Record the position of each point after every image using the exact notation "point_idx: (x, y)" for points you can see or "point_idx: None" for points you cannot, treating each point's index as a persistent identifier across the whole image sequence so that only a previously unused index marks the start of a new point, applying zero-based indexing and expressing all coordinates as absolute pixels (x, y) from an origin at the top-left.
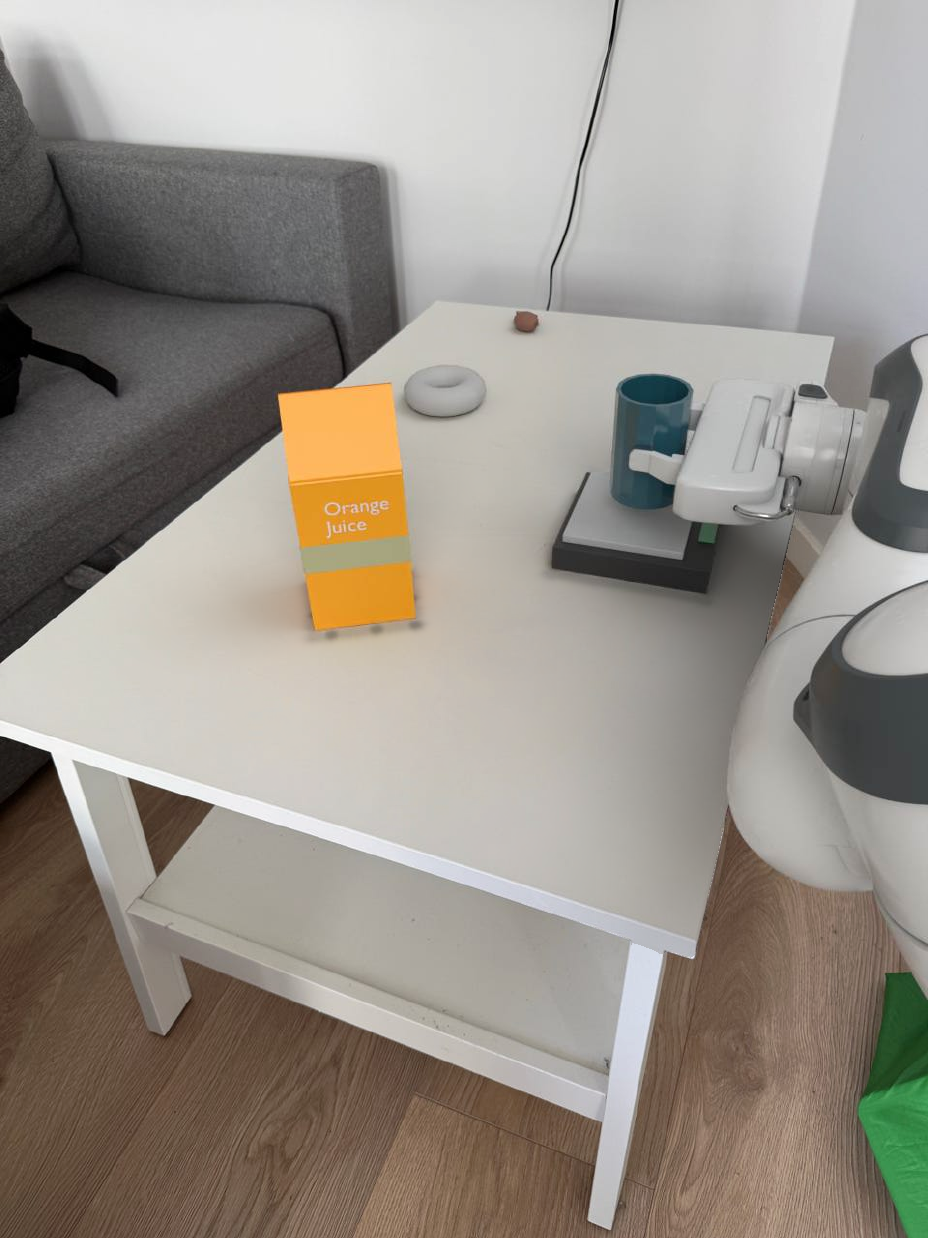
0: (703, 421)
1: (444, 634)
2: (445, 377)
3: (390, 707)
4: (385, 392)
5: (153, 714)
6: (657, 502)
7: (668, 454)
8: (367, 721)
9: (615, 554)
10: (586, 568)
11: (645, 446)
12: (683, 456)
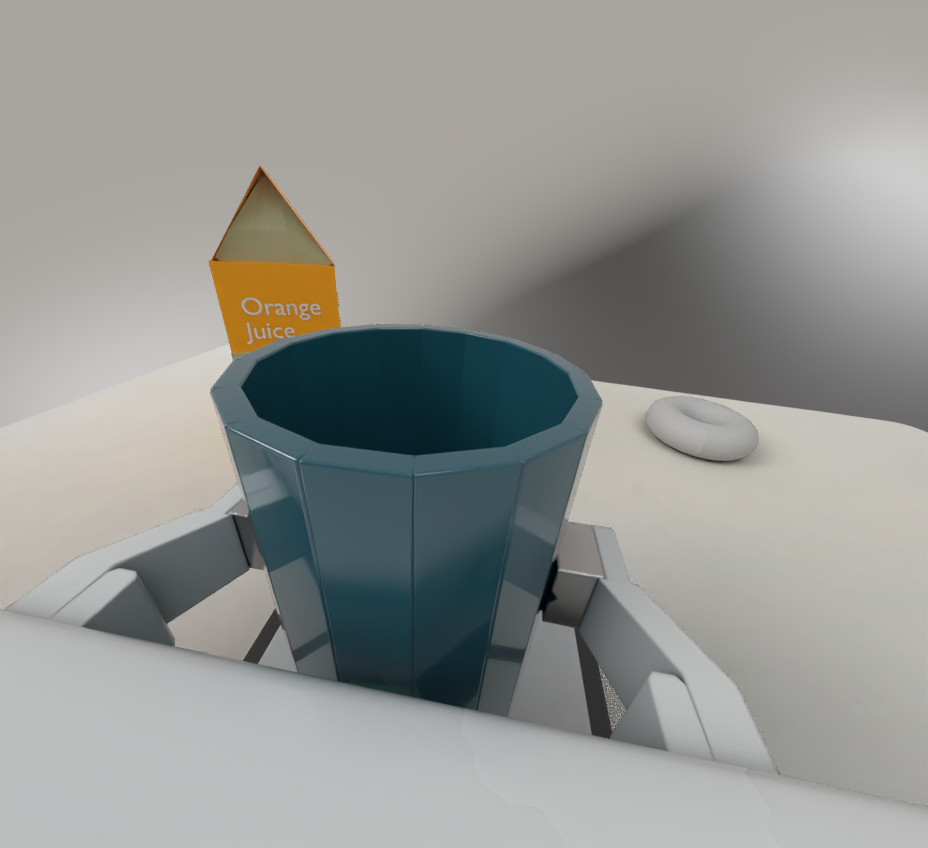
0: (379, 726)
1: (215, 473)
2: (717, 418)
3: (112, 450)
4: (255, 176)
5: (205, 368)
6: None
7: (274, 602)
8: (104, 440)
9: (263, 641)
10: None
11: None
12: (72, 620)
